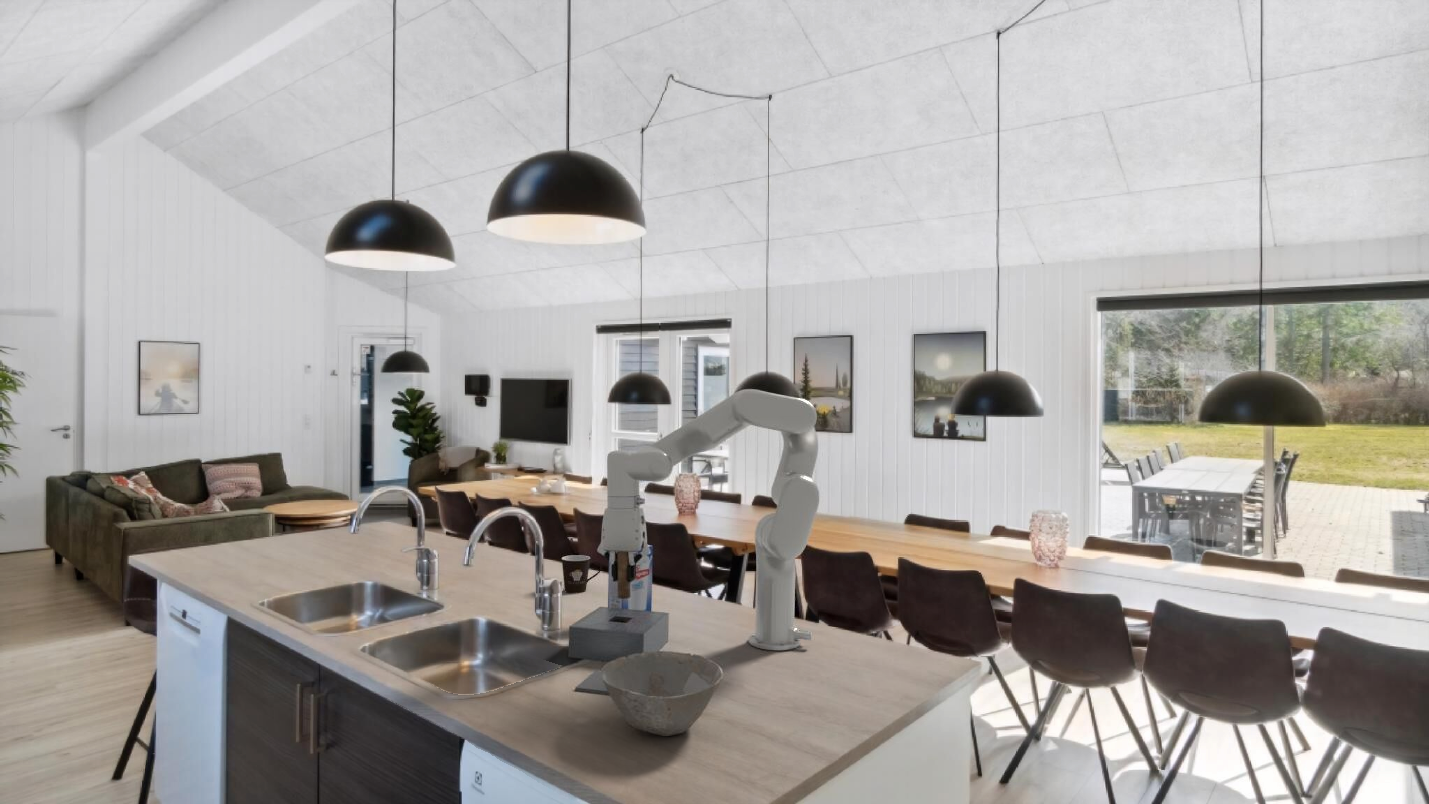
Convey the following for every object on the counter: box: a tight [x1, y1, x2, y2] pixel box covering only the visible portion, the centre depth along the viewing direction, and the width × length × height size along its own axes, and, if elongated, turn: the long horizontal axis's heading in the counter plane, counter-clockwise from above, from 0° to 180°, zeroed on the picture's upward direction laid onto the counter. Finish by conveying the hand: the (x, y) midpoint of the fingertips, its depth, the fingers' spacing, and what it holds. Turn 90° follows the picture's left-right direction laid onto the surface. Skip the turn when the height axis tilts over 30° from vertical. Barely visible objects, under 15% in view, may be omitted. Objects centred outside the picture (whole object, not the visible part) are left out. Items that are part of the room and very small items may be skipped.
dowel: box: [617, 551, 630, 599], centre depth 184 cm, size 3×3×14 cm
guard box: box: [568, 606, 670, 663], centre depth 184 cm, size 18×18×7 cm
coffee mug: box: [561, 554, 603, 594], centre depth 238 cm, size 12×9×10 cm
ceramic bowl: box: [600, 650, 724, 737], centre depth 141 cm, size 22×23×10 cm
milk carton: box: [607, 544, 654, 611], centre depth 207 cm, size 10×6×20 cm, turn 136°
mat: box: [575, 670, 610, 696], centre depth 161 cm, size 10×10×1 cm
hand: (623, 579), depth 184 cm, fingers closed on dowel, 3 cm apart
